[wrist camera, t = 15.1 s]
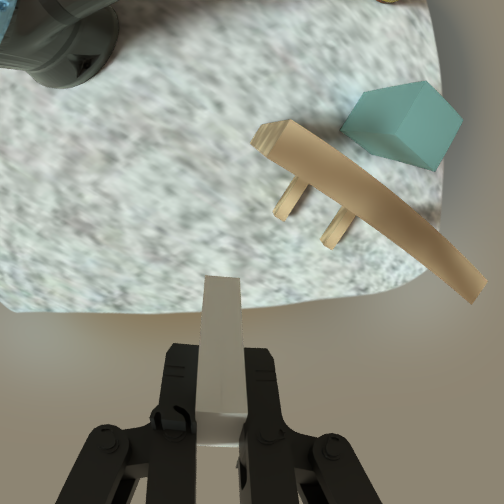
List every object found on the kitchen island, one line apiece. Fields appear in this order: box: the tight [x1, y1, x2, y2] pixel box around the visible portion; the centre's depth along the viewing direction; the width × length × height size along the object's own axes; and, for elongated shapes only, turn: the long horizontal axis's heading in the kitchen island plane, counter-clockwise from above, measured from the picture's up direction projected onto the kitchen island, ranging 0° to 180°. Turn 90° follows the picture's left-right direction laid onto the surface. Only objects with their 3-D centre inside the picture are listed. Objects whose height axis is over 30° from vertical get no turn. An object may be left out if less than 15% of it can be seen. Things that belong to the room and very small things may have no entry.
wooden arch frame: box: [250, 119, 488, 304], centre depth 33 cm, size 10×25×22 cm, turn 59°
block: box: [340, 81, 463, 172], centre depth 32 cm, size 7×6×16 cm
